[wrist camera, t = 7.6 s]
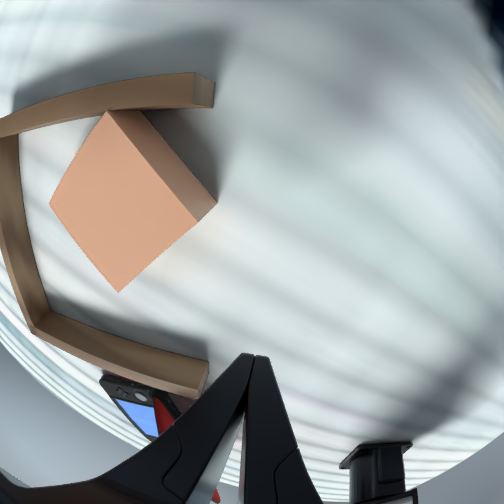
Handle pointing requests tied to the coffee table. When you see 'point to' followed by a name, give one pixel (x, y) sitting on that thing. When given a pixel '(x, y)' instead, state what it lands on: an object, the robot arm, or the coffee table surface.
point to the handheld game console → (144, 407)
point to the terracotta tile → (127, 196)
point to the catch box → (20, 251)
